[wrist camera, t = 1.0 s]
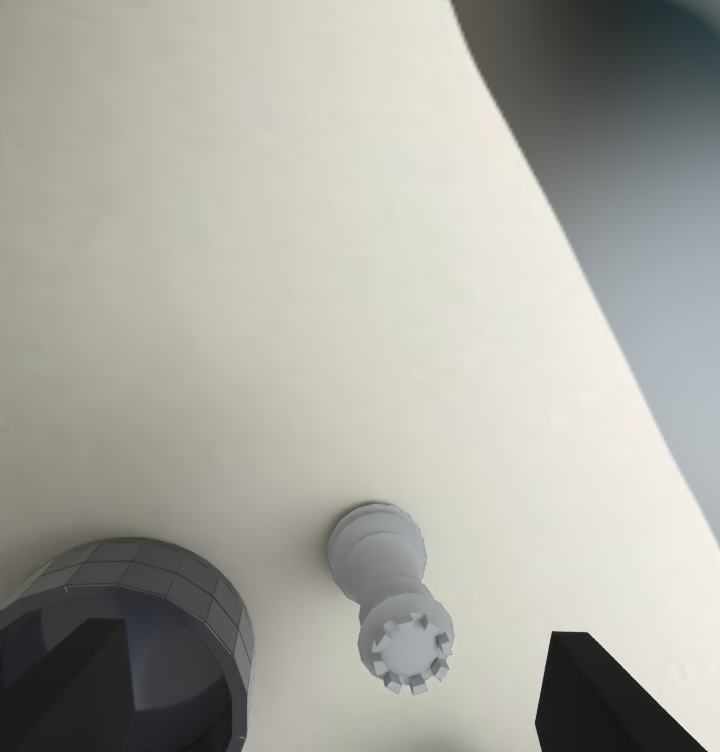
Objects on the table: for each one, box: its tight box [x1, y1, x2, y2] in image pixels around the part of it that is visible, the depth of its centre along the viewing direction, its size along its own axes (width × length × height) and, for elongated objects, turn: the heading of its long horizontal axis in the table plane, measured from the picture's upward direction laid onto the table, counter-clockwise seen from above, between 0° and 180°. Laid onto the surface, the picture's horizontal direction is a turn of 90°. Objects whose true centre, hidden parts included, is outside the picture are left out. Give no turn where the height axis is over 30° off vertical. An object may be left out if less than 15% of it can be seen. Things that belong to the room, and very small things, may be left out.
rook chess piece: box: [327, 503, 454, 695], centre depth 20 cm, size 4×4×8 cm
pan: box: [0, 538, 255, 752], centre depth 21 cm, size 11×11×4 cm
